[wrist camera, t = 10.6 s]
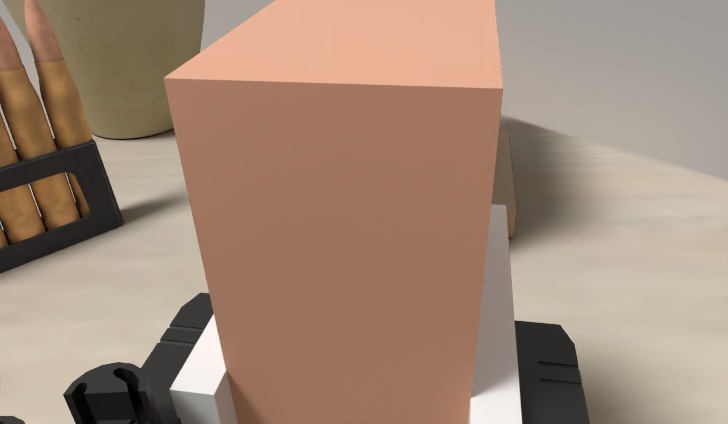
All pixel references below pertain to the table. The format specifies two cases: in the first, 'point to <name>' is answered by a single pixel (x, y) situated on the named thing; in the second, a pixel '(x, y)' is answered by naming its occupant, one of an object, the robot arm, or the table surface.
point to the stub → (345, 204)
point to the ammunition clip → (46, 154)
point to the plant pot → (122, 56)
